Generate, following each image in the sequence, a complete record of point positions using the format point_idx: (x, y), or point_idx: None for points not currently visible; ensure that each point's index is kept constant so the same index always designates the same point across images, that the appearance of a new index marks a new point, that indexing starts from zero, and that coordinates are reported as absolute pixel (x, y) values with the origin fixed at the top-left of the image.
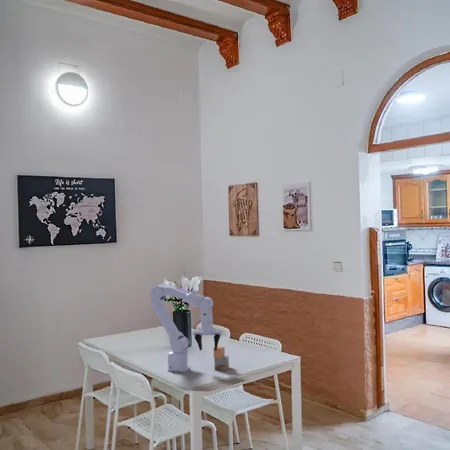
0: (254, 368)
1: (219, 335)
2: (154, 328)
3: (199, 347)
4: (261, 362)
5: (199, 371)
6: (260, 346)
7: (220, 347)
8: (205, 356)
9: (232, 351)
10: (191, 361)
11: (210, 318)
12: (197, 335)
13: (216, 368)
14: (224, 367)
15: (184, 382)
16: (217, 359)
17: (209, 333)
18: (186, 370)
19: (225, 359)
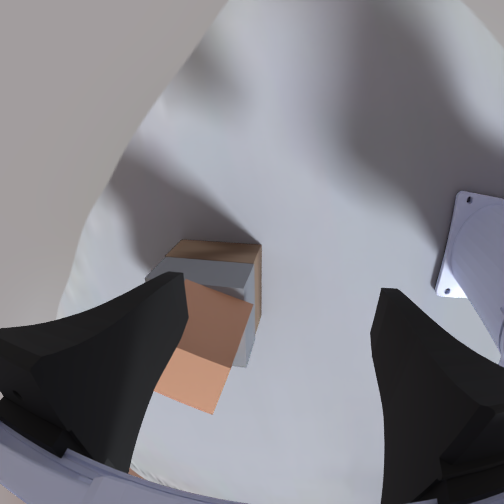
0: (75, 287)
1: (2, 400)
2: None
3: (409, 302)
4: None
5: (367, 213)
6: (174, 484)
7: (164, 371)
8: (348, 446)
9: (245, 475)
10: None
11: None
12: (487, 476)
13: (245, 249)
14: (186, 249)
15: None
16: (217, 280)
17: (82, 491)
18: (456, 205)
19: (153, 276)
